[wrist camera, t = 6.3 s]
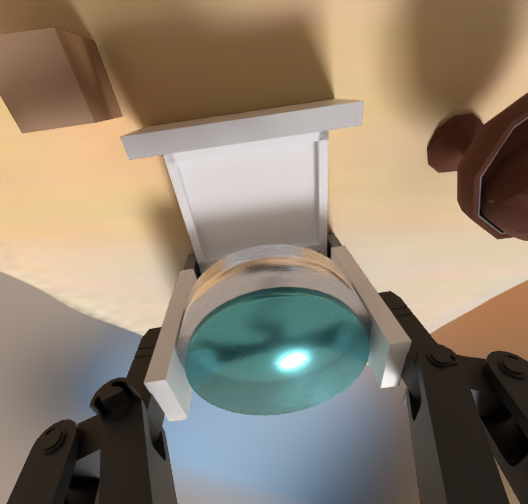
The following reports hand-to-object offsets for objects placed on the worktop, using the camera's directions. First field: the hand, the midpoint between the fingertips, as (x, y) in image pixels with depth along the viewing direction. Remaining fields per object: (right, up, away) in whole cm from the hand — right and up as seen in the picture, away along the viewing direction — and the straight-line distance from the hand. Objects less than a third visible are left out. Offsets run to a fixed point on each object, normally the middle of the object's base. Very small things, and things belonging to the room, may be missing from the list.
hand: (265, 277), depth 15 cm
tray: (-1, +7, +12) cm, 13 cm away
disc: (0, -2, -3) cm, 3 cm away
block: (-15, +15, +5) cm, 22 cm away
